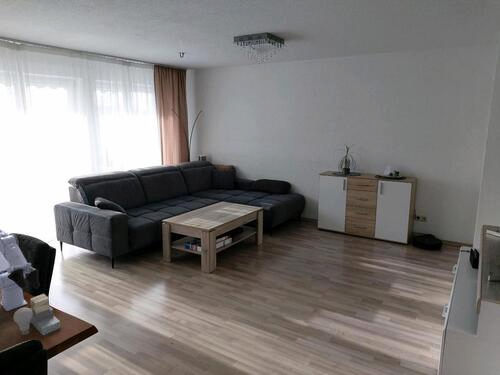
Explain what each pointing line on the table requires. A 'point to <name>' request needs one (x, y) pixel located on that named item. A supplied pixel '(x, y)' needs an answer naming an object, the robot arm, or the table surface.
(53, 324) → the steps
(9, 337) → the table surface
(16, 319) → the lightbulb
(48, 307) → the birch cube
